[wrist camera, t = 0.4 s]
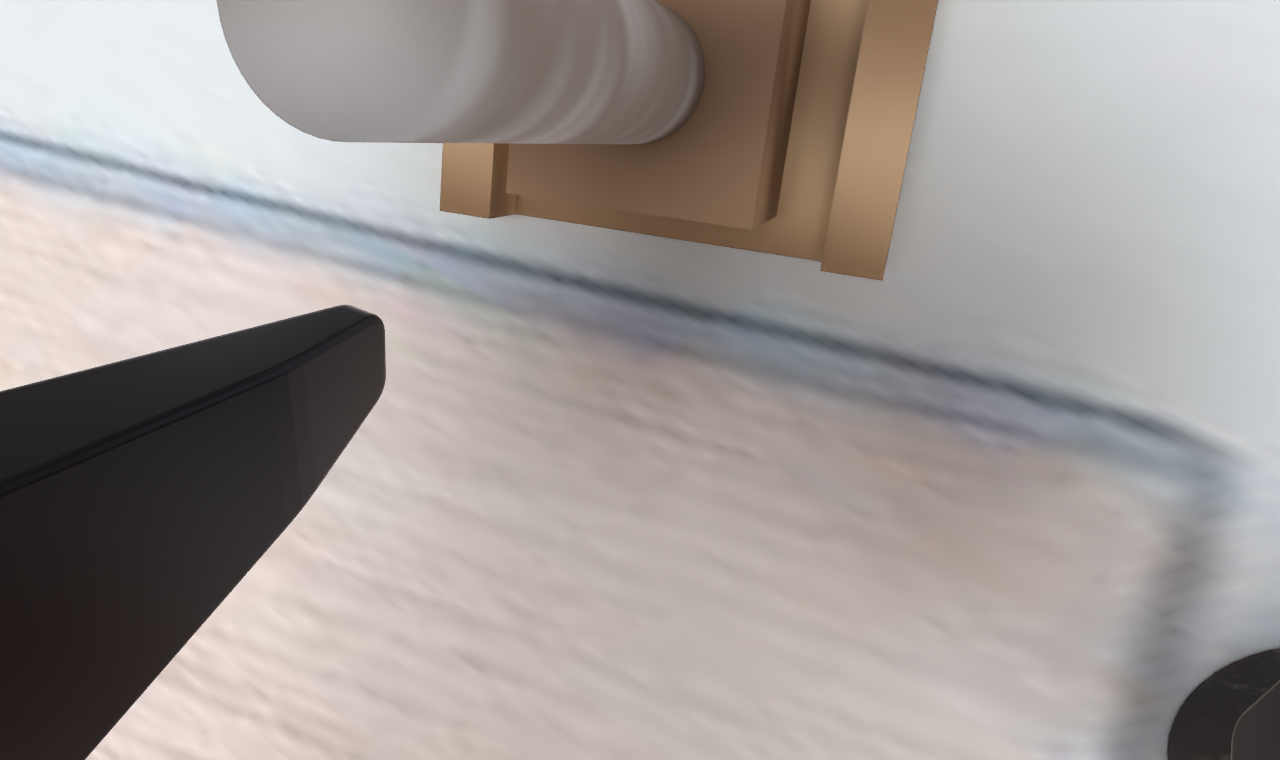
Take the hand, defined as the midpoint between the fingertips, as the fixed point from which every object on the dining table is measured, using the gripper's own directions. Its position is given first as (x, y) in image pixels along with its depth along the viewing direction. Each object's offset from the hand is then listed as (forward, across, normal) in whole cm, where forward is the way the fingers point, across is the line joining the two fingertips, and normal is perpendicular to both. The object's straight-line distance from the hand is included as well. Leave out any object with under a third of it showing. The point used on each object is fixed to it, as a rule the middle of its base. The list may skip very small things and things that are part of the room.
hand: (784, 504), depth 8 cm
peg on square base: (+16, +6, +2) cm, 17 cm away
